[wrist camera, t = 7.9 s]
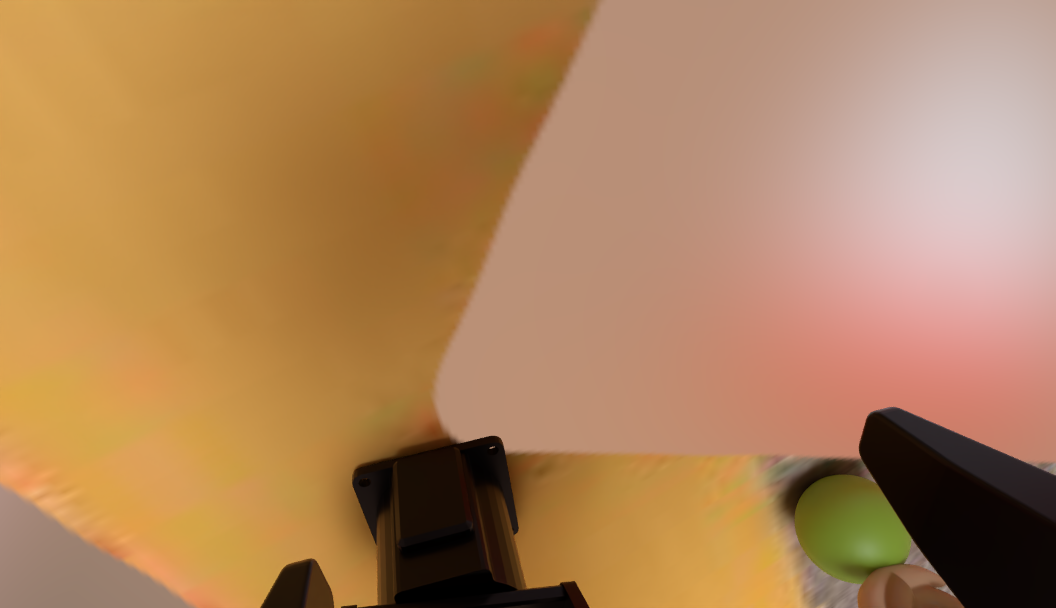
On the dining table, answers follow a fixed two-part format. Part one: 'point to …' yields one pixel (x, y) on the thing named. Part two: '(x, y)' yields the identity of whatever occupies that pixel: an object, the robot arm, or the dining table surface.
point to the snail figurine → (864, 544)
